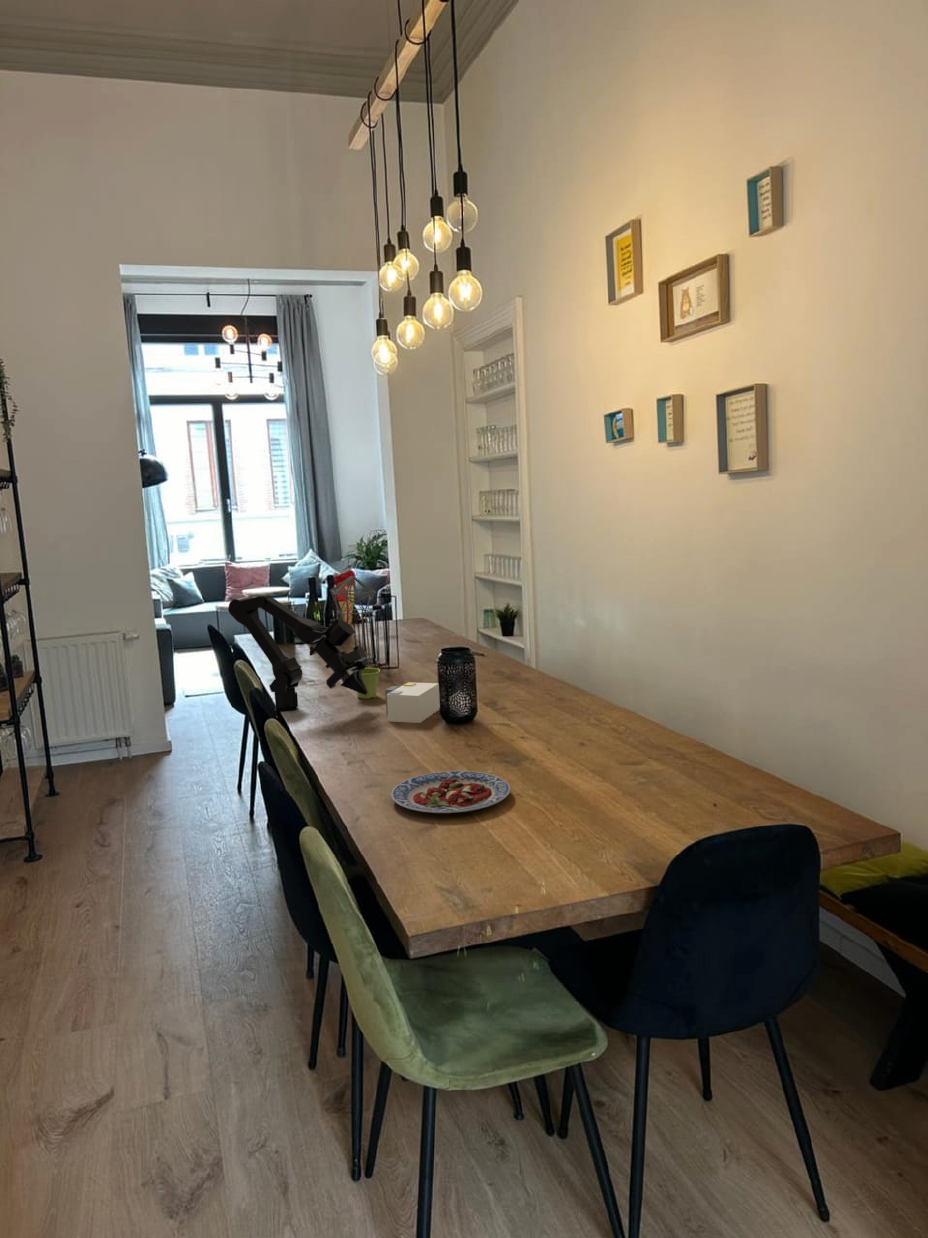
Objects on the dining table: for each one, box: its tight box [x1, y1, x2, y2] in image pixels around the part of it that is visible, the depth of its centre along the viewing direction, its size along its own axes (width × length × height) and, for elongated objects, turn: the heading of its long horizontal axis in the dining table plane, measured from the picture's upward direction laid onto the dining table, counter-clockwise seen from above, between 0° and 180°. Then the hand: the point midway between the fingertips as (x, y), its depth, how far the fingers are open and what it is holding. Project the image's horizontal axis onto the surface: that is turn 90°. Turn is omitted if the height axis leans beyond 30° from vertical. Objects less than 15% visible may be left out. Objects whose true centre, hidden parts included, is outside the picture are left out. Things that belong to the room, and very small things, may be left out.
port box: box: [387, 681, 441, 724], centre depth 264 cm, size 10×16×8 cm, turn 161°
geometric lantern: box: [328, 576, 377, 668], centre depth 335 cm, size 16×16×35 cm
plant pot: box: [356, 667, 381, 700], centre depth 290 cm, size 9×9×9 cm
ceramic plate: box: [390, 770, 511, 814], centre depth 193 cm, size 26×26×3 cm
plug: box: [384, 685, 401, 716], centre depth 265 cm, size 9×5×8 cm, turn 71°
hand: (366, 693), depth 269 cm, fingers closed
